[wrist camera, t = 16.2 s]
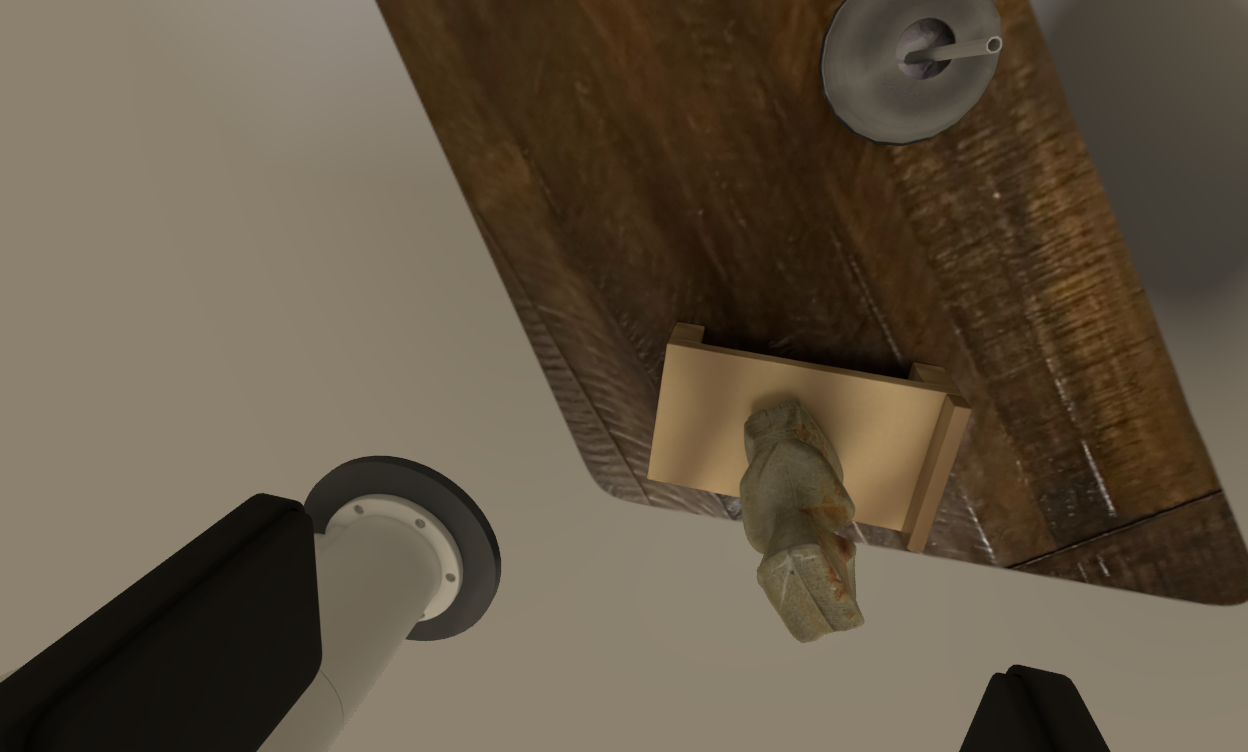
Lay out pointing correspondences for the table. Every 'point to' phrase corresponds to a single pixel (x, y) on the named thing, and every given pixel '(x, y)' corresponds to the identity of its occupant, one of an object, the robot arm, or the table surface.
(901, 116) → the beverage cup
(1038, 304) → the table surface
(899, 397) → the shelf
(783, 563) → the sculpture
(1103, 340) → the table surface
